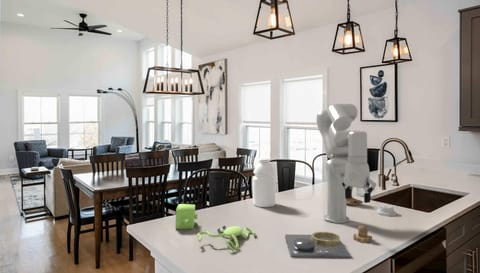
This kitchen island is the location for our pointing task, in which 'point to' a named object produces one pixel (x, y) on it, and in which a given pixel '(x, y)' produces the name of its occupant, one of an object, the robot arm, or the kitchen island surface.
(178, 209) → the gearbox
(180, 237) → the kitchen island surface
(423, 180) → the kitchen island surface
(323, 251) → the carrier plate
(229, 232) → the figurine
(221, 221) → the kitchen island surface
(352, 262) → the kitchen island surface
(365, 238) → the planet gear
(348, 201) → the brown upright piece
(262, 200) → the bottle
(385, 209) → the mechanical component
